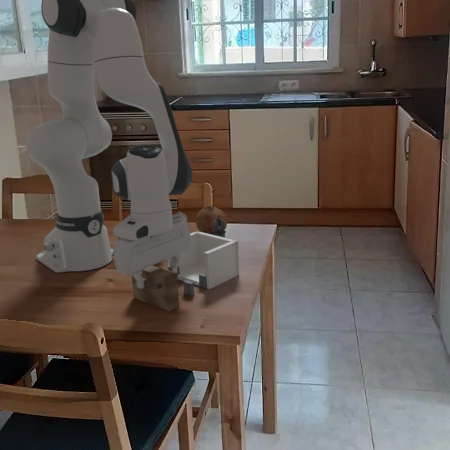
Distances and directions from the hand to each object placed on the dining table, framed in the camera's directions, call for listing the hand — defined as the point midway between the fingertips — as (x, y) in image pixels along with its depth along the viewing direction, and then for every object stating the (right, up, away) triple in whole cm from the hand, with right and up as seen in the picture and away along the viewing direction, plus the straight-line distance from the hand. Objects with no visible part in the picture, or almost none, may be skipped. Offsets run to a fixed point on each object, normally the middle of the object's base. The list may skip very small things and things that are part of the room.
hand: (158, 280), depth 131 cm
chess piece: (+14, +3, +28) cm, 31 cm away
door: (-1, -5, +2) cm, 5 cm away
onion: (+11, +9, +45) cm, 47 cm away
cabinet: (+8, -1, +14) cm, 16 cm away
